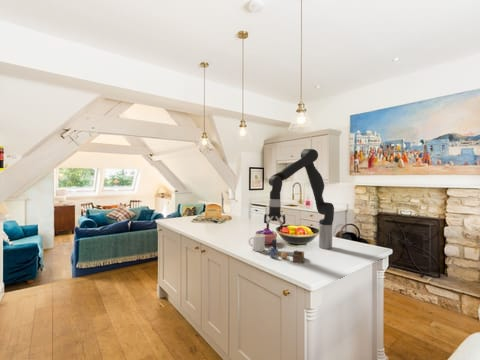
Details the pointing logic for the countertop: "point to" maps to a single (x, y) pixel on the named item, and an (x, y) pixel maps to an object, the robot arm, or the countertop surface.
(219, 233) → the countertop surface
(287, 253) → the rail
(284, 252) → the ball
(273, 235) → the cell model
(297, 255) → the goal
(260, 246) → the mug
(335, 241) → the countertop surface
